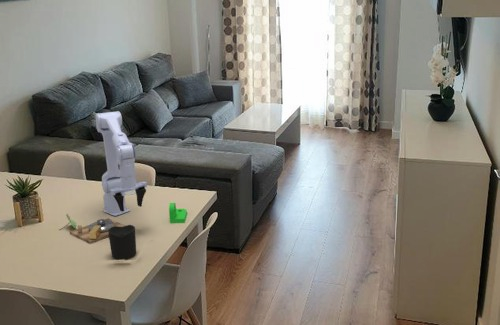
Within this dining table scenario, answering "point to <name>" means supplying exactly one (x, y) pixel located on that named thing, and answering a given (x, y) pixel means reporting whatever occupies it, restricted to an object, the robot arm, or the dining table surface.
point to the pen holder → (122, 242)
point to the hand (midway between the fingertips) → (130, 208)
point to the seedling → (70, 222)
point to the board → (84, 231)
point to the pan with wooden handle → (99, 227)
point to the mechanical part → (177, 214)
